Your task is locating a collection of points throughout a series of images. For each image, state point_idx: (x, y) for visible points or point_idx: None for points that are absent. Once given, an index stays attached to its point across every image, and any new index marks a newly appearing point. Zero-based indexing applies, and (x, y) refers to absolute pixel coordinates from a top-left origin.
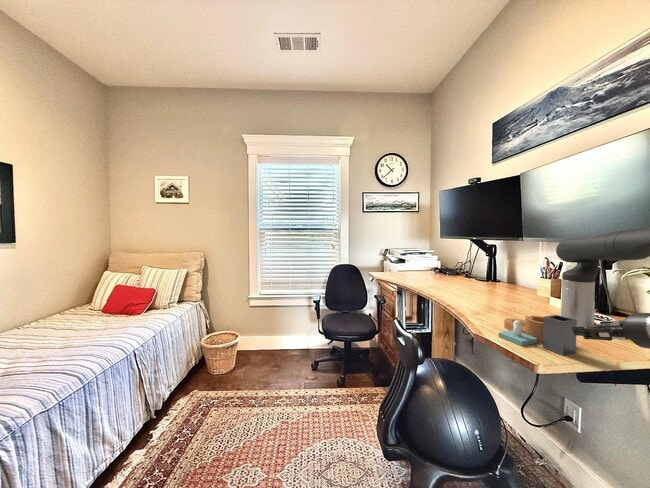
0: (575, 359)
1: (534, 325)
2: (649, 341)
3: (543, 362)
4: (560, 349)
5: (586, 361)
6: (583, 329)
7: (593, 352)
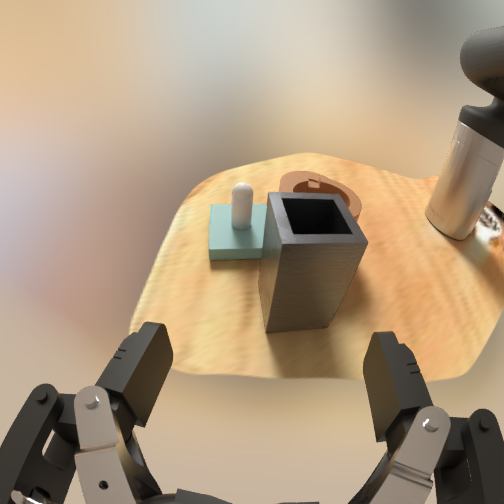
0: (280, 359)
1: None
2: None
3: None
4: (267, 315)
5: (302, 377)
6: (28, 403)
7: None
